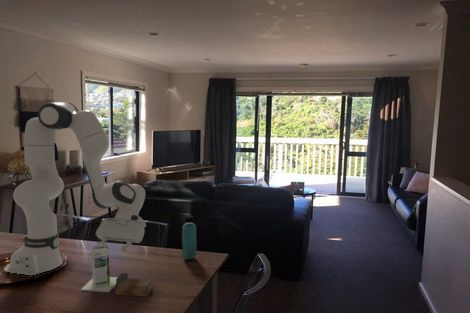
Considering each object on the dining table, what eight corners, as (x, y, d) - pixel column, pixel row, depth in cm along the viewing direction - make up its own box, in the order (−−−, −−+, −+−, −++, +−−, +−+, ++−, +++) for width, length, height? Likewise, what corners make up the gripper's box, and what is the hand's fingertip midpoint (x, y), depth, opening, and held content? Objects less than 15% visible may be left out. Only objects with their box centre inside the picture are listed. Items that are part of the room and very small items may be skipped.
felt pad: (81, 290, 137) (81, 289, 137) (94, 277, 148) (94, 276, 148) (109, 292, 136) (109, 290, 136) (121, 278, 147) (121, 277, 147)
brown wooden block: (115, 294, 134) (115, 279, 134) (121, 288, 139) (120, 273, 138) (147, 296, 133) (147, 280, 133) (152, 289, 138) (151, 274, 137)
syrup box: (94, 287, 138) (92, 250, 136) (92, 281, 143) (91, 245, 141) (110, 284, 140) (109, 248, 139) (108, 278, 146) (106, 243, 144)
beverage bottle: (194, 262, 163) (194, 219, 161) (180, 261, 165) (179, 218, 162) (198, 257, 170) (198, 215, 167) (184, 255, 171) (184, 214, 169)
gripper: (101, 213, 157) (87, 243, 148) (144, 217, 151) (131, 249, 143) (107, 221, 161) (94, 250, 153) (149, 225, 156) (138, 255, 148)
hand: (112, 249), depth 148 cm, fingers open, 8 cm apart
